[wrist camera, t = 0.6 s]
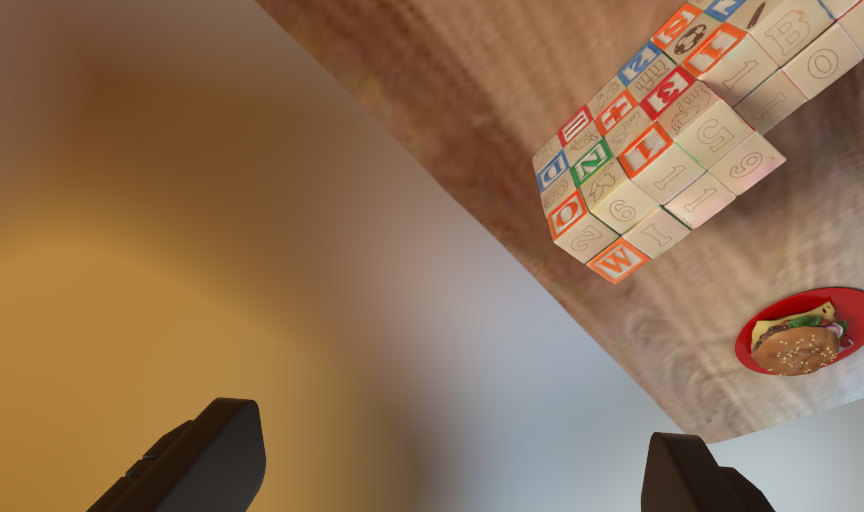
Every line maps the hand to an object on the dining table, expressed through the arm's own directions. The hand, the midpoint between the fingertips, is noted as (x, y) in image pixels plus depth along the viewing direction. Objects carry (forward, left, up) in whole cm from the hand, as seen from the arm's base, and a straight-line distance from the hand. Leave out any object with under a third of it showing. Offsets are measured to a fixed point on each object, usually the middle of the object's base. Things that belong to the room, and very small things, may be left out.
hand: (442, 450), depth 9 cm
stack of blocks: (+12, +10, -32) cm, 36 cm away
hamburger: (+48, +11, -32) cm, 59 cm away
